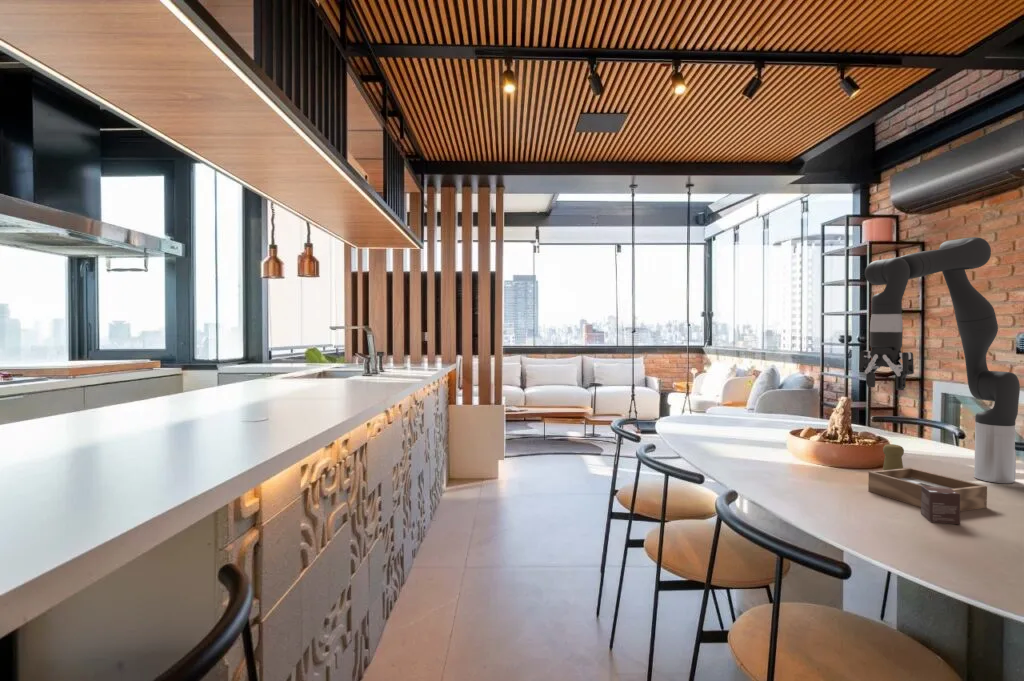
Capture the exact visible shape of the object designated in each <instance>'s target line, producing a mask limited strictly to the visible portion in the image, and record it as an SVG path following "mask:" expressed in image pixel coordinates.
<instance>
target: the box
mask: <svg viewBox="0 0 1024 681" xmlns="http://www.w3.org/2000/svg"><path fill="white" fill-rule="evenodd" d="M920 515H921V516H922V517H924V518H925V519H926V520H927V521H928V522H929V523H942V524H953V525H960V524H961V511H960V494H959V493H957V492H956V491H954V490H952V489H951V488H947V487H933V486H921V507H920Z"/></svg>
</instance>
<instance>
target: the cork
mask: <svg viewBox="0 0 1024 681" xmlns="http://www.w3.org/2000/svg"><path fill="white" fill-rule="evenodd" d="M882 451H883V454H884V461H883V464H882V465H883V467H882V470H893V469H903V468H904V464H903V456H904V453H905V450H904V448H903V446H901V445H899V444H891V443H890V444H889V443H888V444H885V445H884V446H883V449H882Z"/></svg>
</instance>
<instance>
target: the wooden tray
mask: <svg viewBox="0 0 1024 681" xmlns="http://www.w3.org/2000/svg"><path fill="white" fill-rule="evenodd" d="M921 486H933V487H947V488H951V489H952V490H954V491H956V492H957V493H959V494H960V512H963V511H970V510H971V511H972V510H979V509H987V507H988V506H987V505H988V485H983V484H979V483H974V482H970V481H967V480H963V479H960V478H959V479H958V478H954V477H950V476H945V475H942V474H938V473H933V472H929V471H926V470H923V469H922V470H921V469H917V468H912V467H905V468H904V467H903V469H893V470H883V469H882V470H875V471H874V470H873V471H872V470H871V471H868V487H867V488H868V492H869V493H874V494H876V495H879V496H883V497H887V498H890V499H893V500H897V501H900V502H903V503H906V504H909V505H912V506H915V507H920V508H921Z"/></svg>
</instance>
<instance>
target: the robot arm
mask: <svg viewBox="0 0 1024 681" xmlns="http://www.w3.org/2000/svg"><path fill="white" fill-rule="evenodd" d="M991 253H992V249H991V246H990V244H989V242H988V241H987V239H985V238H981V237H978V236H975V237H974V236H973V237H965V238H959V239H950V240H947V241H946V240H945V241H943V242H942V243H941V244H940V245H939V248H938V249H931V250H924V251H918V252H913V253H908V254H905V255H904V254H903V255H902V256H898V257H892V258H883V259H876V260H874V261H872V262H869V264H868V265H867V266H866V267H865V269H864V278H865V279H866V281H867V282H868V283H870V284H872V285H875V286H883V285H886V286H885V288H884V289H883V291H882V292H878V293H877V294H873V296H872V297H871V308H870V309H871V312H870V313H871V315H870V316H871V317H870V322H869V324H870V325H869V347H870V348H871V350H861V351H860V354H859V357H860V358H859V368H858V369H859V371H860V372H863V373H865V376H866V377H865V384H866V386H867V387H868V388H875V387H876V374H875V373H876V372H877V370H878V369H880V368H882V367H883V368H890V370H892V371H893V372H894V374H895V375H896V376H895V390H896V391H904V390H905V388H906V386H907V385H906V382H907V381H906V380H907V379H906V378H907V376H910V375H913V374H914V373H915V370H914V369H915V368H914V353H913V352H911V351H908V352H906V351H904V352H902V349H901V348H902V347H903V324H904V323H903V317H902V312H903V311H902V310H903V309H902V308H903V306H902V304H903V302H902V300H903V297H904V295H905V291H906V289H907V288H906V287H907V286H908V282H909V280H911V279H912V280H913V279H918V278H921V277H925V276H929V275H932V274H936V273H941V272H942V275H943V277H944V280H945V283H946V286H947V289H948V291H949V295H950V298H951V303H952V306H953V310H954V316H955V322H956V324H957V325H956V326H957V329H958V333H959V336H960V339H961V345H962V348H963V355H964V362H965V369H966V370H965V371H966V377H967V385H968V389H969V392H970V394H971V395H972V397H974V398H975V399H977V400H981V401H989V402H994V404H993V407H992V408H991V409H988V410H983V411H979V412H976V414H975V418H974V419H975V420H974V422H975V423H974V465H973V466H974V467H973V468H974V469H973V473H974V474H973V475H974V476H973V477H974V478H976V479H978V480H980V481H985V482H990V483H997V484H998V483H999V484H1013V483H1015V482H1016V477H1017V476H1016V475H1017V474H1016V470H1017V469H1016V467H1017V450H1016V421H1017V420H1016V419H1017V417H1018V414H1019V405H1020V404H1019V400H1020V391H1021V390H1020V389H1021V386H1020V380H1019V378H1018V377H1017V375H1016V374H1015V373H1013V372H1010V371H998V370H997V371H996V370H989V368H988V365H987V354H988V351H989V349H990V347H991V346H992V344H993V342H994V340H995V338H996V337H997V334H998V331H999V325H998V320H997V315H996V311H995V308H994V307H993V305H992V304H991V303H990V302H989V300H988V299H987V298H986V297H985V296H983V294H981V293H980V292H979V291H978V290H977V289H976V288H975V287H974V286H973V285H972V283H971V282H970V280H969V279H968V275H967V273H966V270H974V269H979V268H982V267H984V266H985V265H986V264H988V262H989V261H990V258H991V255H992V254H991Z"/></svg>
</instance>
